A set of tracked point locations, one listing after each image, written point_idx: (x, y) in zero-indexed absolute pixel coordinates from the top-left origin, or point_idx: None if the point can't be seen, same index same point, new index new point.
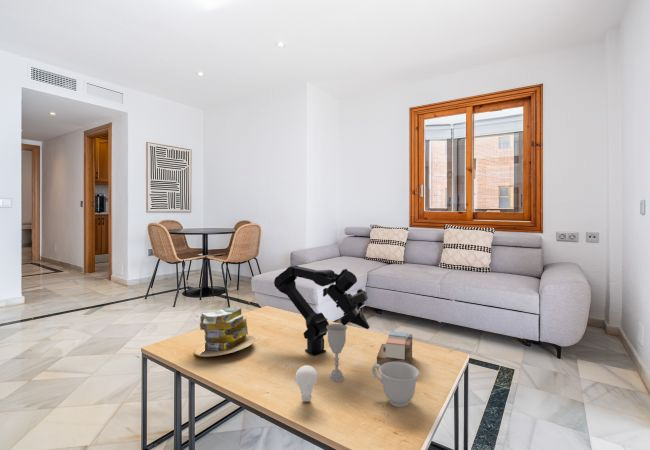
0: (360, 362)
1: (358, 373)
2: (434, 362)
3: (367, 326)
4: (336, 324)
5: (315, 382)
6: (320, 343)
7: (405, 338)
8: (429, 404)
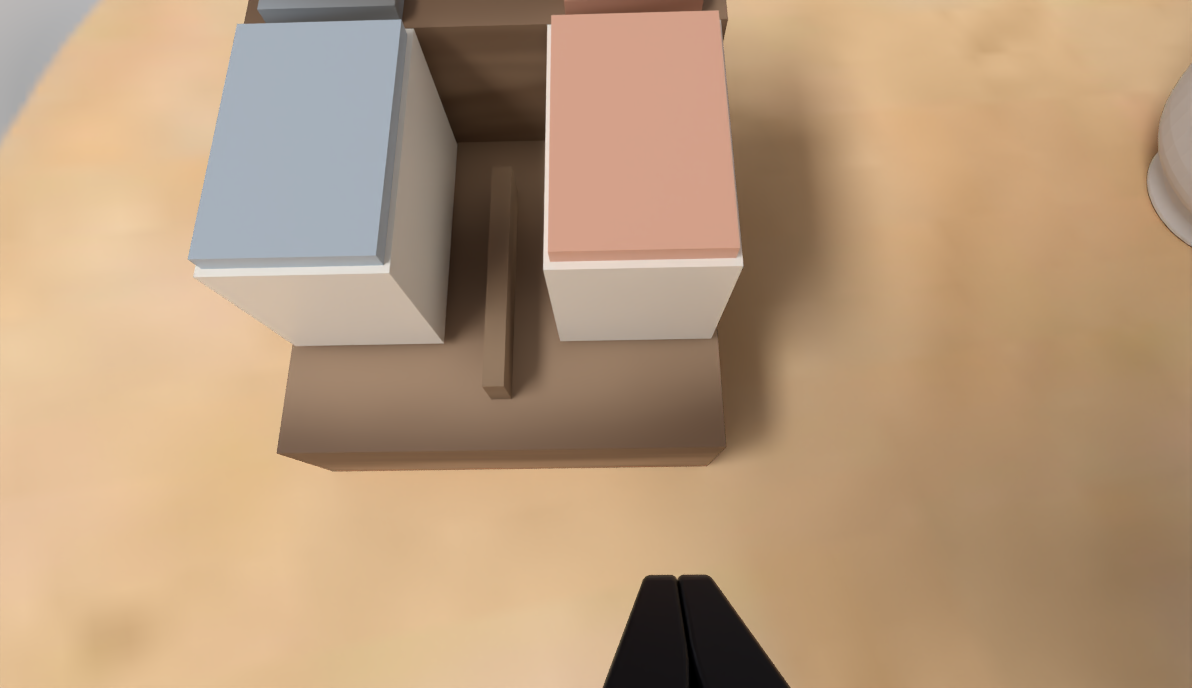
0: None
1: (925, 638)
2: None
3: (739, 636)
4: None
5: None
6: None
7: (415, 48)
8: (1119, 16)
